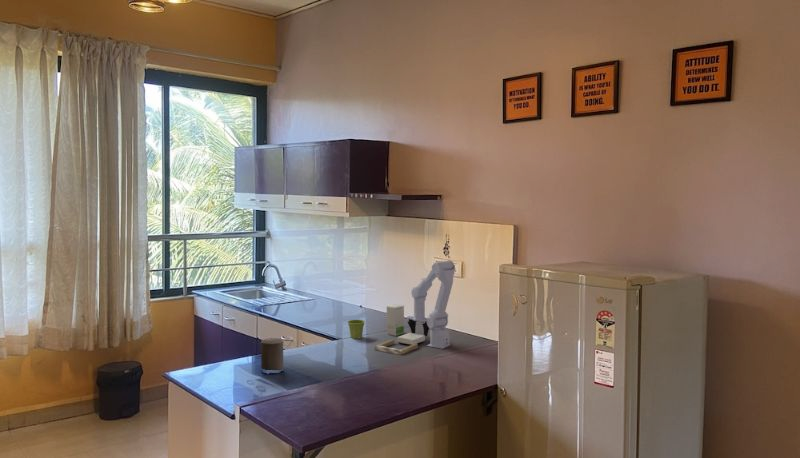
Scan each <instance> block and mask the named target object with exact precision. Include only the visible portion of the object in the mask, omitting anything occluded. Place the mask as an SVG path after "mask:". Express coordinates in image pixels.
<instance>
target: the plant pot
mask: <svg viewBox="0 0 800 458" xmlns="http://www.w3.org/2000/svg"><path fill="white" fill-rule="evenodd" d="M347 323H348V327H349V335H350V338H352V339H354V340H355V339H356V340H358V339H362V338H363V333H364V332H363V331H364V326H365V323H366V321H365V320H363V319H351V320H348V321H347Z"/></svg>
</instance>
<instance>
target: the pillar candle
mask: <svg viewBox="0 0 800 458" xmlns="http://www.w3.org/2000/svg"><path fill="white" fill-rule="evenodd" d="M260 353H261V355H260V363H261V364H260V365H261V366H260V367H261V368H262V369H265V370H282V369H284V340H283V339H282V338H277V337H276V338H275V337H271V338H264V339H261V341H260ZM261 368H260V369H261Z"/></svg>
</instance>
